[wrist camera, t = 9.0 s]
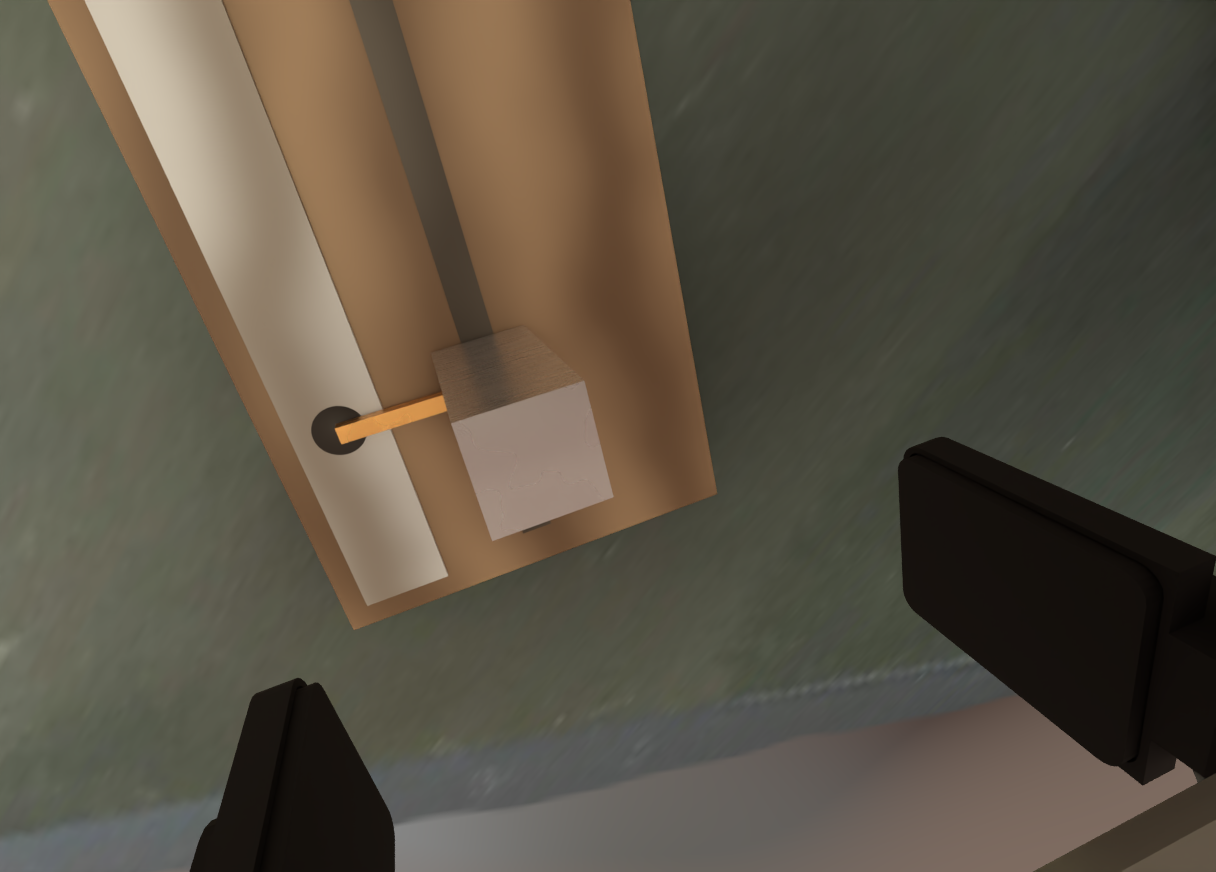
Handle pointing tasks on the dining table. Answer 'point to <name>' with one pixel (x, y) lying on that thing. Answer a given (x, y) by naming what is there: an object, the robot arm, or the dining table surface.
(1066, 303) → the dining table surface
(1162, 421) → the dining table surface
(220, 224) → the rule board
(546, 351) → the sliding block with pointer
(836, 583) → the dining table surface
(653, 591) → the dining table surface
